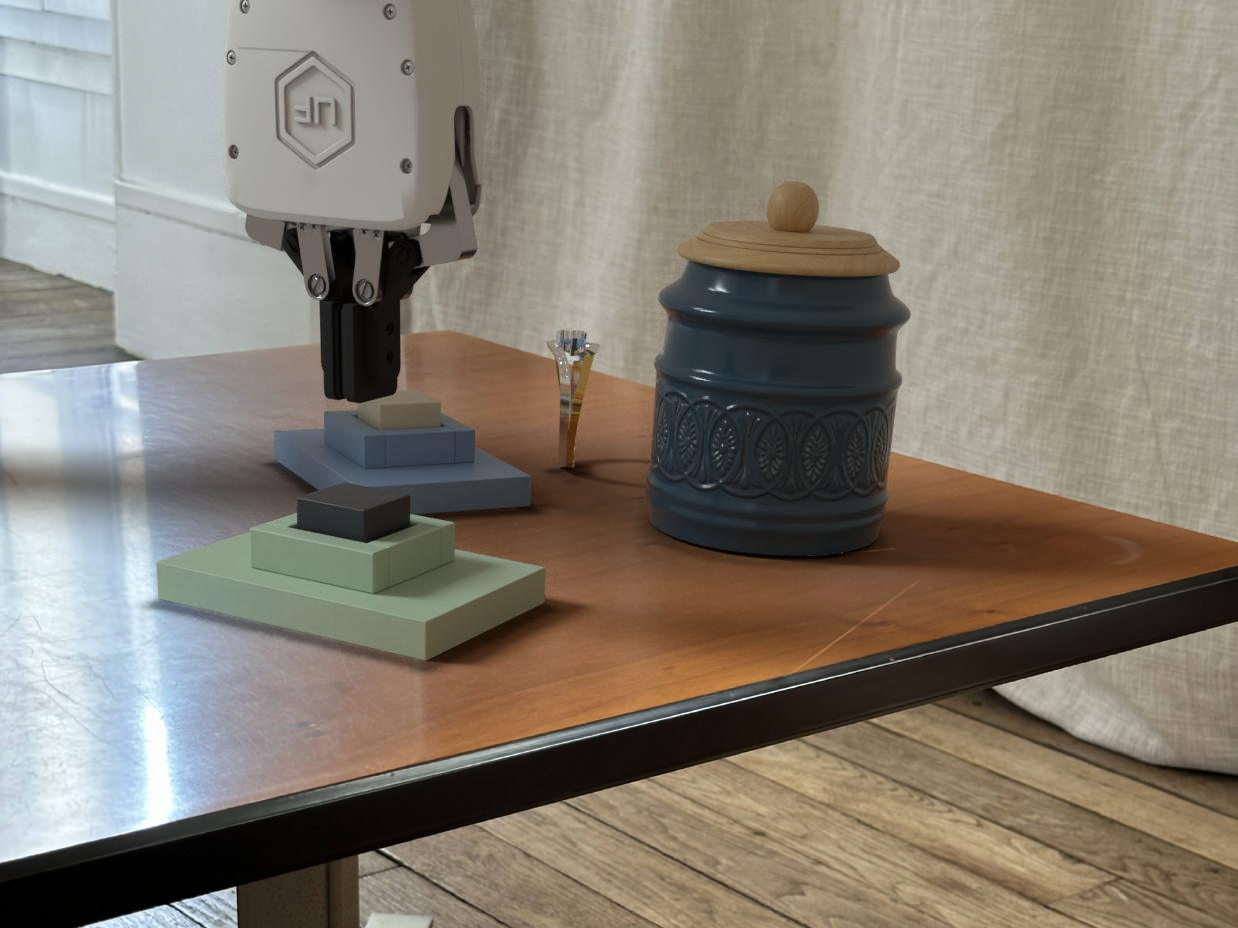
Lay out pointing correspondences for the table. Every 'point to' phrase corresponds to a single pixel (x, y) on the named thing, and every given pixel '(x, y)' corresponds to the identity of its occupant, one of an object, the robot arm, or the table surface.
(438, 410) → the key
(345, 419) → the blue stepped base
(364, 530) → the key
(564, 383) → the ring
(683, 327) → the canister
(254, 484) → the table surface
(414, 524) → the stepped pedestal base
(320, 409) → the table surface
